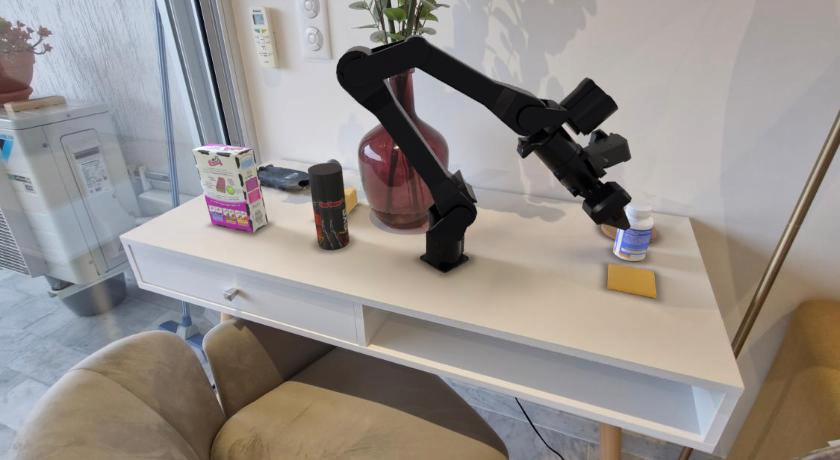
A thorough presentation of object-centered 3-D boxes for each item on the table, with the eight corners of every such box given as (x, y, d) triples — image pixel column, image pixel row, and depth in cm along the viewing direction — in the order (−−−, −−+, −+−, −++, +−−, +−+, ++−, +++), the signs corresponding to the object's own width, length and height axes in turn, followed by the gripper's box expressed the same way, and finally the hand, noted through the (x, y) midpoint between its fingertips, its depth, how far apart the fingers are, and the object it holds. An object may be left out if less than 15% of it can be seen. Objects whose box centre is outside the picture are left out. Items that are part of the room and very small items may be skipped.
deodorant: (349, 249, 81) (341, 173, 74) (316, 251, 81) (305, 175, 74) (349, 234, 87) (342, 162, 79) (319, 236, 86) (309, 163, 79)
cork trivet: (642, 250, 80) (643, 245, 79) (591, 231, 86) (592, 226, 86) (664, 232, 86) (665, 227, 85) (615, 215, 92) (616, 211, 92)
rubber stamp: (341, 223, 91) (335, 168, 85) (315, 220, 92) (308, 166, 86) (358, 203, 99) (353, 152, 94) (334, 201, 100) (328, 151, 95)
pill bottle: (651, 259, 77) (665, 209, 72) (626, 264, 76) (638, 214, 71) (630, 244, 82) (642, 197, 77) (606, 249, 80) (616, 201, 76)
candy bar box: (270, 223, 91) (255, 147, 83) (253, 234, 87) (236, 155, 79) (228, 215, 95) (210, 141, 87) (210, 225, 91) (190, 149, 83)
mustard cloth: (655, 298, 67) (656, 295, 67) (607, 288, 70) (607, 285, 69) (653, 274, 73) (653, 271, 73) (608, 266, 75) (609, 263, 75)
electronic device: (249, 191, 110) (295, 193, 103) (245, 169, 108) (291, 170, 101) (276, 183, 117) (320, 184, 111) (272, 162, 116) (316, 162, 109)
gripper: (632, 136, 59) (689, 208, 64) (581, 105, 75) (630, 165, 81) (565, 191, 62) (625, 255, 68) (531, 150, 78) (581, 204, 84)
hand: (615, 215), depth 75 cm, fingers open, 9 cm apart
